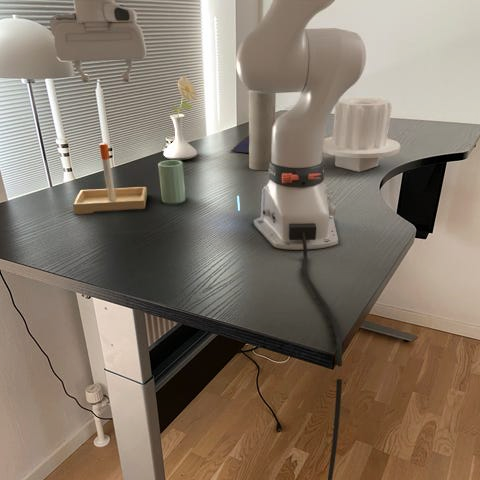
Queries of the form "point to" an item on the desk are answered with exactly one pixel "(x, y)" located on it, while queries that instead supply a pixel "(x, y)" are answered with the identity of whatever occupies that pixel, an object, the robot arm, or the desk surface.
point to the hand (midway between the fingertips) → (106, 82)
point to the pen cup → (172, 181)
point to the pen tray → (100, 201)
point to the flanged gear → (360, 133)
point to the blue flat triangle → (242, 146)
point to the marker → (107, 171)
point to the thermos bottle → (260, 128)
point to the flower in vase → (180, 146)
